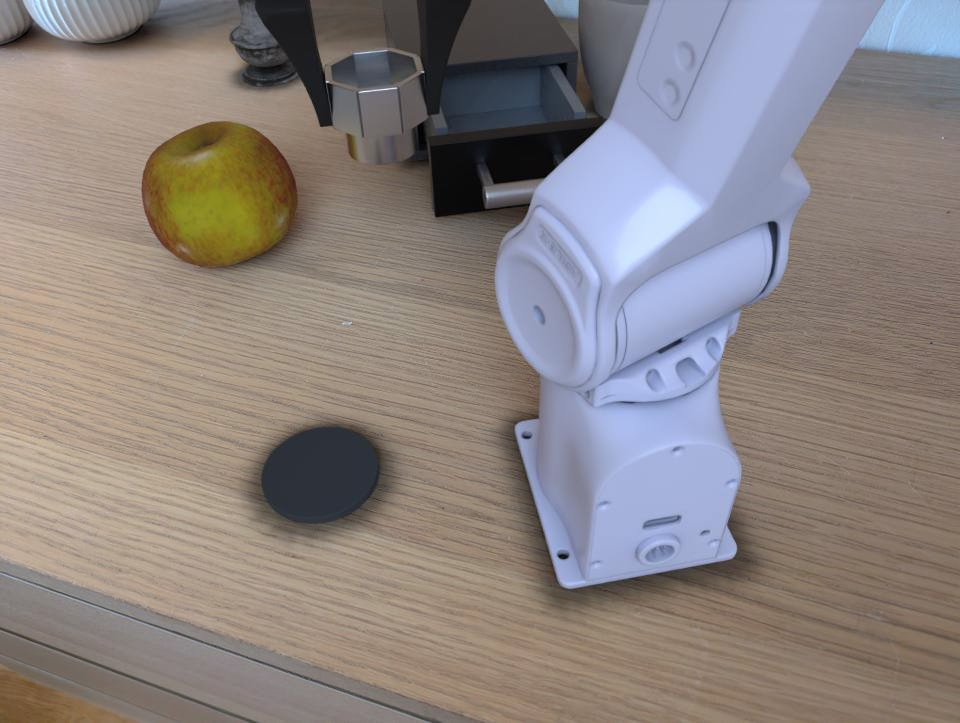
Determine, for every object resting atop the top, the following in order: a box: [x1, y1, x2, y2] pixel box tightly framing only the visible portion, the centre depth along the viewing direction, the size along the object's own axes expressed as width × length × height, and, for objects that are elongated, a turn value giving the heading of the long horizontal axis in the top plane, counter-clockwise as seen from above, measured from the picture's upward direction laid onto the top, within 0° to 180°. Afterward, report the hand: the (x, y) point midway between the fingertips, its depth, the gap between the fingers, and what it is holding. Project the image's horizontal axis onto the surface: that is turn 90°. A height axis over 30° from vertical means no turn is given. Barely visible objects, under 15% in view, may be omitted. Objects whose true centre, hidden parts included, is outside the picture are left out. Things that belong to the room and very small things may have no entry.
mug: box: [577, 0, 649, 120], centre depth 63 cm, size 12×9×10 cm
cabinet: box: [381, 0, 579, 162], centre depth 64 cm, size 14×13×7 cm
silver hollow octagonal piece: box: [323, 47, 428, 166], centre depth 45 cm, size 5×5×5 cm
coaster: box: [260, 426, 380, 525], centre depth 39 cm, size 6×6×1 cm
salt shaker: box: [228, 0, 299, 87], centre depth 69 cm, size 6×6×12 cm
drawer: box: [420, 64, 606, 219], centre depth 56 cm, size 17×11×5 cm
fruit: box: [141, 120, 298, 268], centre depth 51 cm, size 10×9×8 cm
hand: (379, 112), depth 45 cm, fingers closed on silver hollow octagonal piece, 5 cm apart
